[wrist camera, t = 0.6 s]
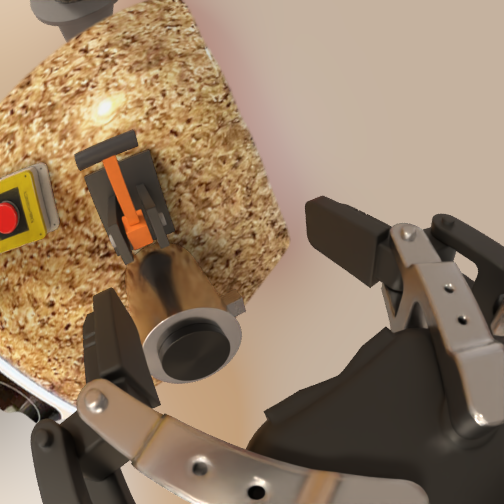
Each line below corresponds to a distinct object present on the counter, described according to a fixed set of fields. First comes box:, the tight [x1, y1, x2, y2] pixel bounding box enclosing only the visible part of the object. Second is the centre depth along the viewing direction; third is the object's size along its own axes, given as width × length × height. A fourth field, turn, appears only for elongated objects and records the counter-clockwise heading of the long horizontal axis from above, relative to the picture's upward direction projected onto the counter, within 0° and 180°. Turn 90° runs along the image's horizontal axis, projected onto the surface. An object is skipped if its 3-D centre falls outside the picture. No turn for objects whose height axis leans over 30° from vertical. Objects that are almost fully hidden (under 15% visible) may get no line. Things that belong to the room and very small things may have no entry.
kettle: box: [124, 243, 246, 384], centre depth 35 cm, size 14×14×17 cm
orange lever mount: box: [84, 150, 175, 265], centre depth 29 cm, size 12×9×12 cm
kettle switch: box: [75, 130, 154, 250], centre depth 22 cm, size 12×5×2 cm, turn 11°
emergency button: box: [0, 163, 60, 254], centre depth 23 cm, size 9×4×15 cm
